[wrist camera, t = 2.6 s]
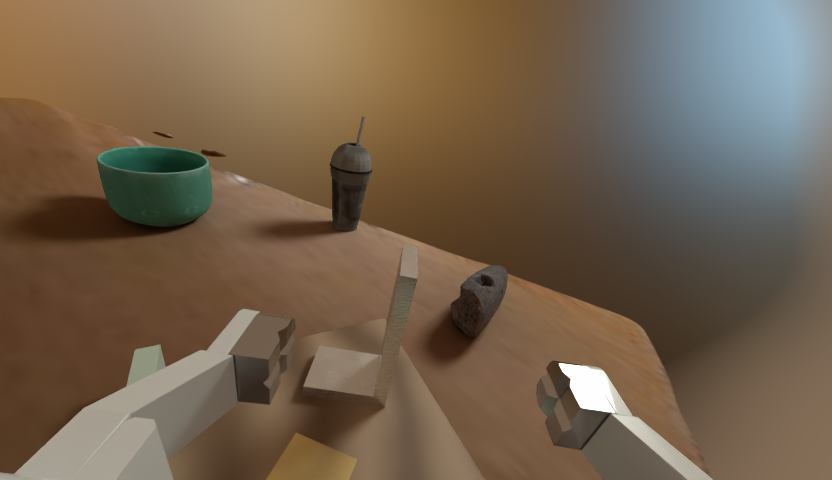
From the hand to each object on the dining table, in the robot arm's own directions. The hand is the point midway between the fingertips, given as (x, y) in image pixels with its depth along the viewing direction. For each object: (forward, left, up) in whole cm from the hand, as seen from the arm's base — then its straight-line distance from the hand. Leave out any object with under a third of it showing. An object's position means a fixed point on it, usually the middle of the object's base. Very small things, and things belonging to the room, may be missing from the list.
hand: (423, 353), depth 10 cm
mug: (-14, +53, -19) cm, 58 cm away
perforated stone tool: (+24, +17, -19) cm, 35 cm away
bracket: (+4, +12, -18) cm, 22 cm away
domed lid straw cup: (+14, +45, -19) cm, 51 cm away
